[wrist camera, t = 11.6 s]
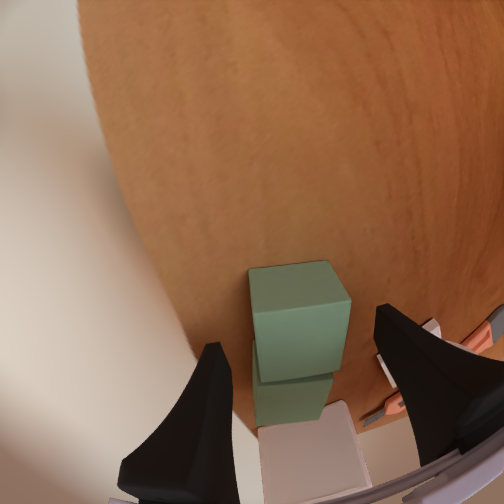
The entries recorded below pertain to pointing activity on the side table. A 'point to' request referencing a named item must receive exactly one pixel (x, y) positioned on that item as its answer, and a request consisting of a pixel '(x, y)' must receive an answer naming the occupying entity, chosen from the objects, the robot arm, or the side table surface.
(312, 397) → the green block
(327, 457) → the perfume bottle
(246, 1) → the side table surface
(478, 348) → the utility knife
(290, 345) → the sage green cube
